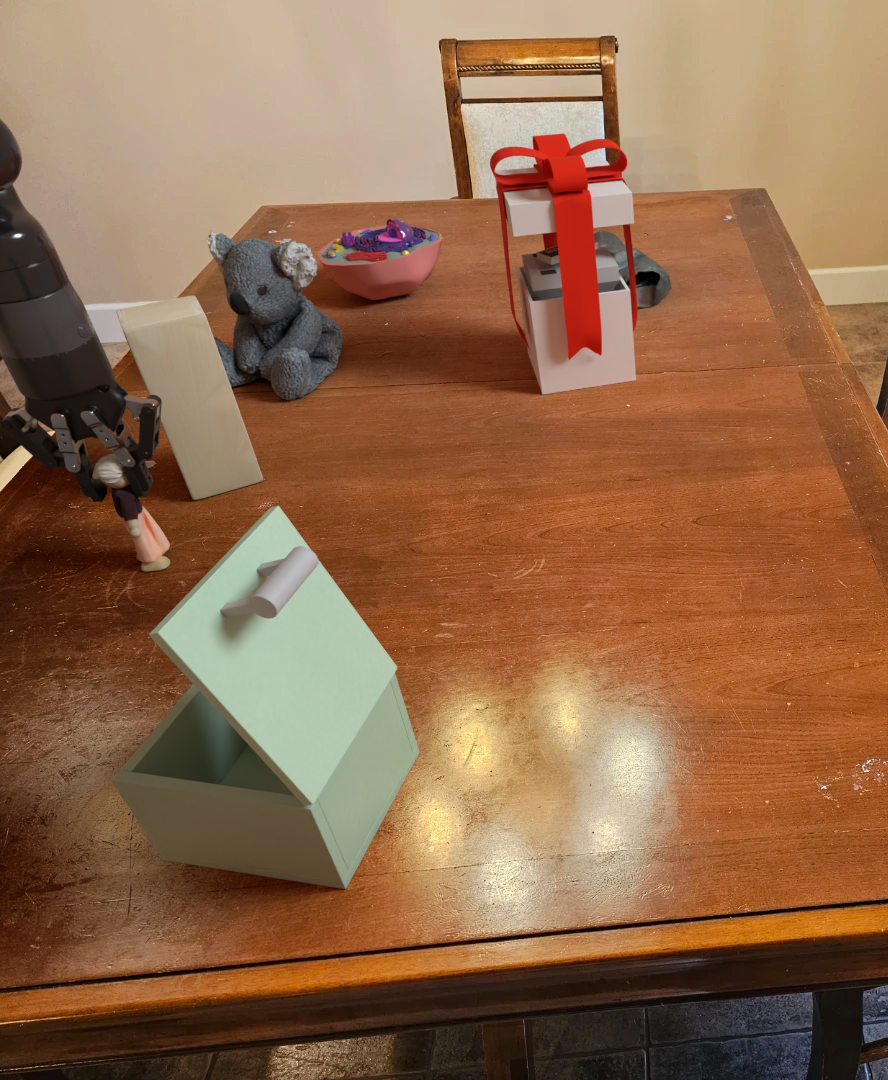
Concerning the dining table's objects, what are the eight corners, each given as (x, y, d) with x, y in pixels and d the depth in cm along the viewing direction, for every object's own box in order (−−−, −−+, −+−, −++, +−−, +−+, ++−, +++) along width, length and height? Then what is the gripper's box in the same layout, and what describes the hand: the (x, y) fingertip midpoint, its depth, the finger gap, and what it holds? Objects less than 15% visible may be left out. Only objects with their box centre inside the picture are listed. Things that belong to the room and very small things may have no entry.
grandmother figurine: (186, 565, 97) (143, 463, 89) (147, 582, 95) (99, 478, 87) (158, 534, 101) (115, 434, 94) (121, 549, 99) (73, 447, 91)
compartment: (161, 860, 69) (110, 780, 63) (257, 729, 79) (220, 650, 73) (345, 889, 67) (310, 809, 61) (420, 752, 77) (395, 672, 71)
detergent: (682, 305, 149) (637, 250, 168) (678, 263, 145) (631, 211, 163) (604, 324, 146) (566, 266, 164) (597, 282, 142) (559, 227, 160)
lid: (147, 634, 53) (212, 622, 51) (269, 507, 63) (327, 493, 61) (303, 805, 61) (364, 799, 60) (390, 669, 71) (443, 660, 70)
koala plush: (195, 390, 128) (140, 251, 116) (277, 336, 141) (236, 206, 129) (303, 406, 124) (259, 264, 112) (377, 349, 138) (344, 217, 126)
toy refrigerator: (253, 453, 114) (193, 291, 102) (266, 480, 110) (205, 314, 97) (183, 473, 111) (112, 307, 98) (193, 502, 106) (120, 332, 93)
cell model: (311, 293, 154) (292, 225, 148) (420, 263, 165) (407, 199, 158) (356, 324, 144) (337, 253, 138) (469, 290, 155) (457, 223, 148)
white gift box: (625, 334, 141) (610, 124, 123) (653, 384, 128) (640, 158, 110) (513, 350, 137) (479, 135, 119) (530, 403, 124) (496, 172, 106)
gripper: (143, 312, 87) (206, 467, 97) (-23, 326, 84) (59, 482, 95) (118, 347, 81) (188, 508, 91) (-61, 362, 79) (31, 525, 89)
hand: (122, 494), depth 93 cm, fingers closed on grandmother figurine, 3 cm apart
